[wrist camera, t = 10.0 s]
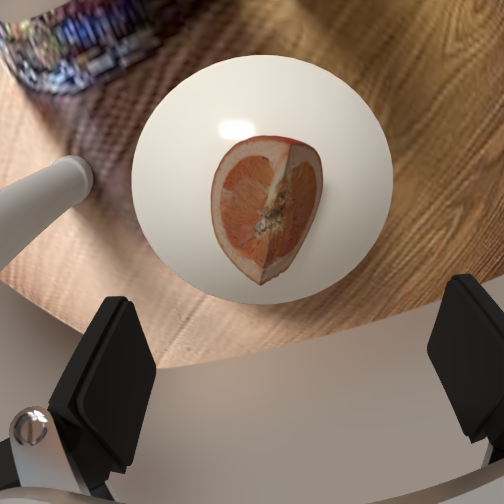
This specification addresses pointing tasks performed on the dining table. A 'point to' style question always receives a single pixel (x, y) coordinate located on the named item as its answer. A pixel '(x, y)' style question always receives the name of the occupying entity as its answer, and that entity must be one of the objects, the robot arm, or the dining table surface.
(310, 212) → the fruit slice
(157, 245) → the cake stand
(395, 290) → the dining table surface
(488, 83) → the dining table surface
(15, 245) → the bottle
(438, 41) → the dining table surface
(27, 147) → the dining table surface
